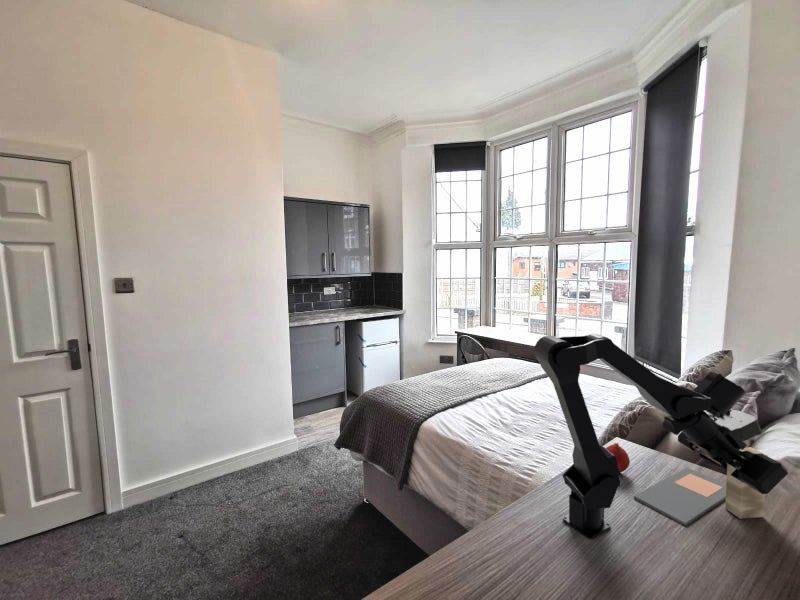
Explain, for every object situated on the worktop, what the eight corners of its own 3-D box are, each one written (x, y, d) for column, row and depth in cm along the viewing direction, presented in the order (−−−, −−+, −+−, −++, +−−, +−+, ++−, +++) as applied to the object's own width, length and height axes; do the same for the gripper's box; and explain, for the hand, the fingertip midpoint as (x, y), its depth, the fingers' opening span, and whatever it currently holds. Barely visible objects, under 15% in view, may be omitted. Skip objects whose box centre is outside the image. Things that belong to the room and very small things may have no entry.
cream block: (739, 518, 74) (743, 456, 73) (725, 508, 77) (728, 448, 76) (763, 516, 74) (767, 455, 73) (748, 506, 78) (751, 447, 76)
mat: (685, 525, 73) (685, 522, 73) (633, 498, 82) (633, 495, 82) (738, 490, 83) (738, 487, 83) (687, 469, 92) (687, 467, 92)
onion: (597, 470, 93) (597, 440, 92) (612, 464, 96) (612, 434, 95) (619, 482, 88) (619, 450, 87) (634, 475, 90) (635, 444, 90)
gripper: (781, 420, 64) (837, 477, 66) (692, 385, 83) (737, 430, 84) (735, 466, 65) (791, 521, 66) (656, 421, 83) (702, 465, 85)
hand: (752, 479), depth 75 cm, fingers closed on cream block, 3 cm apart
